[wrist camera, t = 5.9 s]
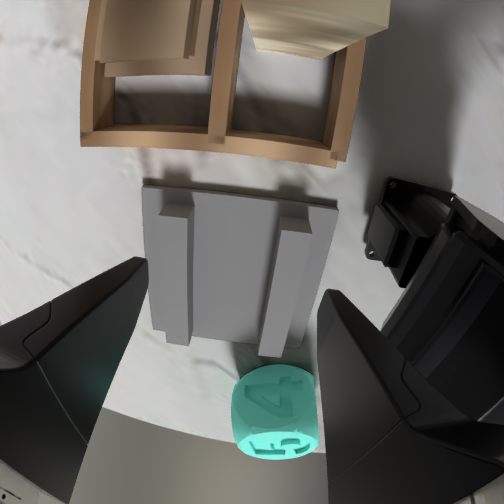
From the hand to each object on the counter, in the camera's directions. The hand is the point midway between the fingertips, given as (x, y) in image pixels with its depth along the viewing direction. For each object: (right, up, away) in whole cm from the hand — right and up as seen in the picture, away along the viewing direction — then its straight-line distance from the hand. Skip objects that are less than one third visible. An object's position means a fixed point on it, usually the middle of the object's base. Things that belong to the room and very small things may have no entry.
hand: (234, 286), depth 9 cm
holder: (-1, -1, +16) cm, 16 cm away
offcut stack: (-5, +18, +5) cm, 19 cm away
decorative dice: (+3, -14, +23) cm, 27 cm away
